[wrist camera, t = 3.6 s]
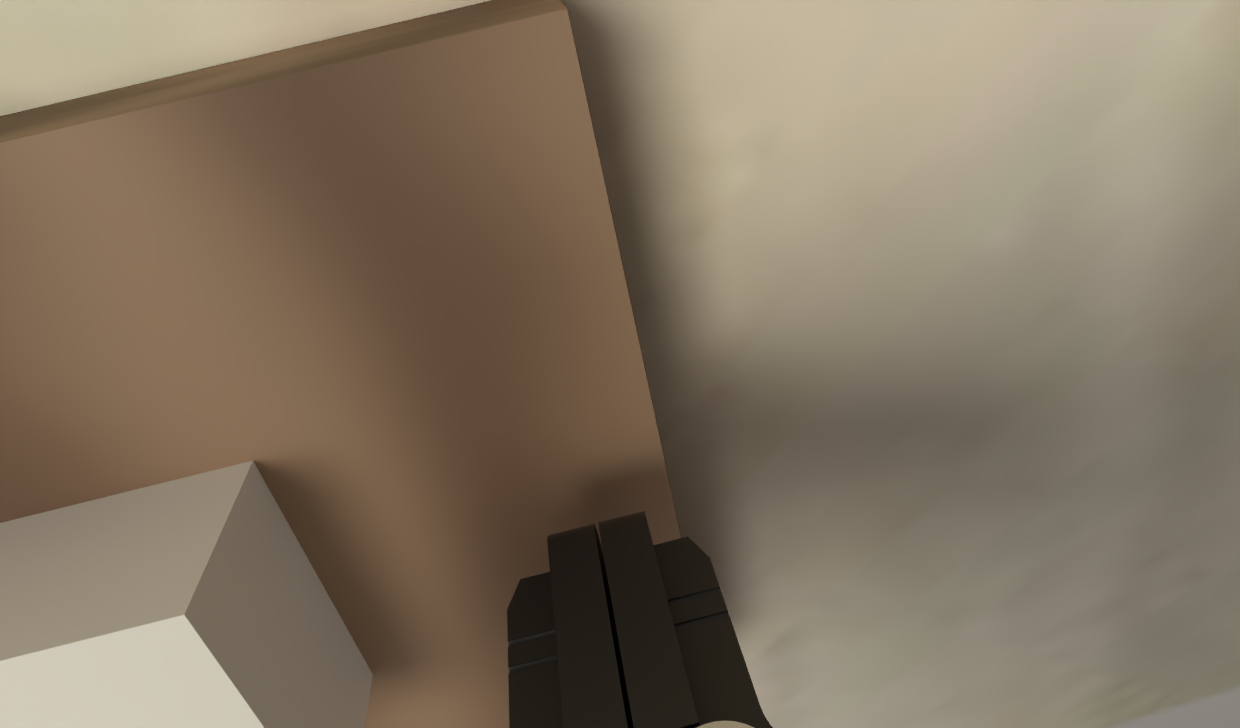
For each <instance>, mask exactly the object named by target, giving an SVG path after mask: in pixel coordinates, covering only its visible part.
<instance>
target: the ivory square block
mask: <svg viewBox="0 0 1240 728" xmlns="http://www.w3.org/2000/svg"><path fill="white" fill-rule="evenodd" d="M372 677H373V674H372V672H371V670H370V668H369V667H368V665H367V663H366V661H365V660H364V658H363V656H362V654H361V652H360V651H359V649H358V647H357V645H356V643H355V642H354V640H353V638H352V636H351V635H350V633H349V631H348V629H347V627H346V626H345V624H344V622H343V620H342V619H341V617H340V615H339V613H338V611H337V610H336V608H335V606H334V604H333V602H332V601H331V599H330V597H329V595H328V594H327V592H326V590H325V588H324V586H323V585H322V583H321V581H320V579H319V577H318V576H317V574H316V572H315V570H314V569H313V567H312V565H311V563H310V561H309V560H308V558H307V556H306V554H305V553H304V551H303V549H302V547H301V545H300V544H299V542H298V540H297V538H296V536H295V535H294V533H293V531H292V529H291V528H290V526H289V524H288V522H287V520H286V519H285V517H284V515H283V513H282V511H281V510H280V508H279V506H278V504H277V503H276V501H275V499H274V497H273V495H272V494H271V492H270V490H269V488H268V486H267V485H266V483H265V481H264V479H263V478H262V476H261V474H260V472H259V470H258V469H257V467H256V465H255V463H254V462H253V461H249V462H245V463H241V464H237V465H233V466H229V467H225V468H221V469H217V470H213V471H209V472H205V473H201V474H197V475H193V476H189V477H185V478H181V479H177V480H172V481H168V482H164V483H160V484H156V485H152V486H148V487H144V488H140V489H136V490H132V491H128V492H124V493H120V494H116V495H112V496H108V497H104V498H100V499H96V500H92V501H87V502H83V503H79V504H75V505H71V506H67V507H63V508H59V509H55V510H51V511H47V512H43V513H39V514H35V515H31V516H27V517H23V518H19V519H15V520H11V521H7V522H2V523H0V728H364V726H365V720H366V714H367V708H368V702H369V695H370V689H371V683H372Z"/></svg>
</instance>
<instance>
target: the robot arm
mask: <svg viewBox="0 0 1240 728" xmlns="http://www.w3.org/2000/svg"><path fill="white" fill-rule="evenodd" d="M598 525H599V532H600V538H601V542H600V538H599V535H598V532H597V528H596V526H595V524H591V525H587V526H583V527H579V528H576V529H572V530H568V531H564V532H560V533H556V534H552V535H548V537H547V543H548V555H549V567H550V572H546V573H542V574H538V575H535V576H531V577H527V578H523V579H520V581H519V583H518V586H517V588H516V590H515V592H514V595H513V597H512V599H511V602H510V604H509V606H508V609H507V633H508V644H509V647H508V668H509V674H508V681H509V728H773V727H772V726H771V725H770V724H769V722H768V721H767V719H766V718H765V716H764V714H763V712H762V709H761V707H760V705H759V702H758V699H757V696H756V693H755V690H754V687H753V684H752V681H751V678H750V675H749V672H748V669H747V666H746V663H745V660H744V658H743V655H742V652H741V649H740V646H739V643H738V640H737V637H736V634H735V631H734V628H733V625H732V622H731V619H730V617H729V615H728V611H727V608H726V605H725V602H724V599H723V596H722V593H721V591H720V587H719V584H718V581H717V578H716V575H715V572H714V569H713V567H712V564H711V561H710V558H709V557H708V556H707V555H706V554H705V553H704V552H703V551H702V550H701V549H700V548H699V547H698V546H697V545H696V544H695V543H694V542H693V541H691V540H690V539H689V538H688V537H684V538H680V539H676V540H672V541H668V542H664V543H660V544H656V545H653V542H652V538H651V534H650V530H649V526H648V522H647V519H646V515H645V511H642V512H638V513H634V514H630V515H626V516H622V517H618V518H614V519H610V520H606V521H602V522H599V523H598ZM601 543H602V545H601Z"/></svg>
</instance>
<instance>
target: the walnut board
mask: <svg viewBox="0 0 1240 728" xmlns="http://www.w3.org/2000/svg"><path fill="white" fill-rule="evenodd" d="M249 461H253V462H254V463H255V465H256V467H257V469H258V470H259V472H260V474H261V476H262V478H263V479H264V481H265V483H266V485H267V486H268V488H269V490H270V492H271V494H272V495H273V497H274V499H275V501H276V503H277V504H278V506H279V508H280V510H281V511H282V513H283V515H284V517H285V519H286V520H287V522H288V524H289V526H290V528H291V529H292V531H293V533H294V535H295V536H296V538H297V540H298V542H299V544H300V545H301V547H302V549H303V551H304V553H305V554H306V556H307V558H308V560H309V561H310V563H311V565H312V567H313V569H314V570H315V572H316V574H317V576H318V577H319V579H320V581H321V583H322V585H323V586H324V588H325V590H326V592H327V594H328V595H329V597H330V599H331V601H332V602H333V604H334V606H335V608H336V610H337V611H338V613H339V615H340V617H341V619H342V620H343V622H344V624H345V626H346V627H347V629H348V631H349V633H350V635H351V636H352V638H353V640H354V642H355V643H356V645H357V647H358V649H359V651H360V652H361V654H362V656H363V658H364V660H365V661H366V663H367V665H368V667H369V668H370V670H371V672H372V674H373V677H372V683H371V689H370V695H369V702H368V708H367V714H366V720H365V726H364V728H509V681H508V674H509V668H508V647H509V644H508V633H507V609H508V606H509V604H510V602H511V599H512V597H513V595H514V592H515V590H516V588H517V586H518V583H519V581H520V579H523V578H527V577H531V576H535V575H538V574H542V573H546V572H550V567H549V555H548V543H547V537H548V535H552V534H556V533H560V532H564V531H568V530H572V529H576V528H579V527H583V526H587V525H591V524H595V526H596V528H597V532H598V535H599V538H600V532H599V525H598V523H599V522H602V521H606V520H610V519H614V518H618V517H622V516H626V515H630V514H634V513H638V512H642V511H645V515H646V519H647V522H648V526H649V530H650V534H651V538H652V542H653V545H656V544H660V543H664V542H668V541H672V540H676V539H680V538H681V534H680V530H679V525H678V520H677V516H676V511H675V507H674V502H673V497H672V493H671V488H670V483H669V479H668V474H667V469H666V465H665V460H664V456H663V451H662V446H661V442H660V437H659V432H658V428H657V423H656V418H655V414H654V409H653V404H652V400H651V395H650V391H649V386H648V381H647V377H646V372H645V367H644V363H643V358H642V353H641V349H640V344H639V340H638V335H637V330H636V326H635V321H634V316H633V312H632V307H631V302H630V298H629V293H628V289H627V284H626V279H625V275H624V270H623V265H622V261H621V256H620V251H619V247H618V242H617V238H616V233H615V228H614V224H613V219H612V214H611V210H610V205H609V200H608V196H607V191H606V187H605V182H604V177H603V173H602V168H601V163H600V159H599V154H598V149H597V145H596V140H595V136H594V131H593V126H592V122H591V117H590V112H589V108H588V103H587V98H586V94H585V89H584V85H583V80H582V75H581V71H580V66H579V61H578V57H577V52H576V47H575V43H574V38H573V34H572V29H571V24H570V20H569V15H568V10H567V8H566V7H565V5H564V4H563V3H562V2H561V1H560V0H492V1H488V2H483V3H479V4H475V5H471V6H466V7H462V8H458V9H454V10H449V11H445V12H441V13H437V14H433V15H428V16H424V17H420V18H416V19H411V20H407V21H403V22H399V23H394V24H390V25H386V26H382V27H378V28H373V29H369V30H365V31H361V32H356V33H352V34H348V35H344V36H339V37H335V38H331V39H327V40H322V41H318V42H314V43H310V44H306V45H301V46H297V47H293V48H289V49H284V50H280V51H276V52H272V53H267V54H263V55H259V56H255V57H251V58H246V59H242V60H238V61H234V62H229V63H225V64H221V65H217V66H212V67H208V68H204V69H200V70H195V71H191V72H187V73H183V74H179V75H174V76H170V77H166V78H162V79H157V80H153V81H149V82H145V83H140V84H136V85H132V86H128V87H124V88H119V89H115V90H111V91H107V92H102V93H98V94H94V95H90V96H85V97H81V98H77V99H73V100H68V101H64V102H60V103H56V104H52V105H47V106H43V107H39V108H35V109H30V110H26V111H22V112H18V113H13V114H9V115H5V116H1V117H0V523H2V522H7V521H11V520H15V519H19V518H23V517H27V516H31V515H35V514H39V513H43V512H47V511H51V510H55V509H59V508H63V507H67V506H71V505H75V504H79V503H83V502H87V501H92V500H96V499H100V498H104V497H108V496H112V495H116V494H120V493H124V492H128V491H132V490H136V489H140V488H144V487H148V486H152V485H156V484H160V483H164V482H168V481H172V480H177V479H181V478H185V477H189V476H193V475H197V474H201V473H205V472H209V471H213V470H217V469H221V468H225V467H229V466H233V465H237V464H241V463H245V462H249ZM600 542H601V538H600ZM601 545H602V543H601Z"/></svg>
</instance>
